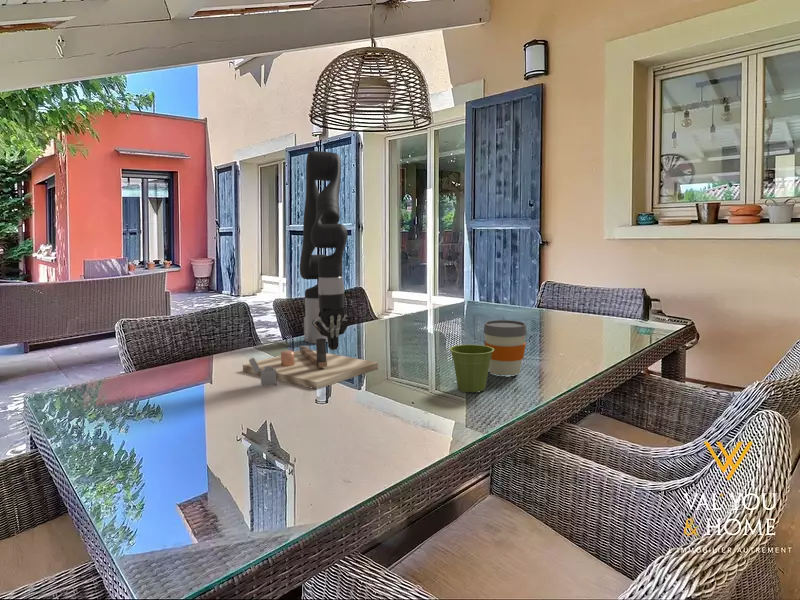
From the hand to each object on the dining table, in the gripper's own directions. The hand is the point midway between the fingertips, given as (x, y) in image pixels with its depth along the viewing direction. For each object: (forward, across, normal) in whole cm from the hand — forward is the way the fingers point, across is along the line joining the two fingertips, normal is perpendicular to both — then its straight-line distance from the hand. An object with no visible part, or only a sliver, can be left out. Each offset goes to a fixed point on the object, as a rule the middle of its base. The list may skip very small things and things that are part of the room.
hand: (333, 349), depth 161 cm
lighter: (+7, +22, -2) cm, 23 cm away
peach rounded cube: (+5, +10, -11) cm, 15 cm away
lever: (+4, +2, -10) cm, 11 cm away
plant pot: (+8, -19, +38) cm, 44 cm away
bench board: (+7, +4, -7) cm, 11 cm away
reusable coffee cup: (+8, -39, +33) cm, 52 cm away
